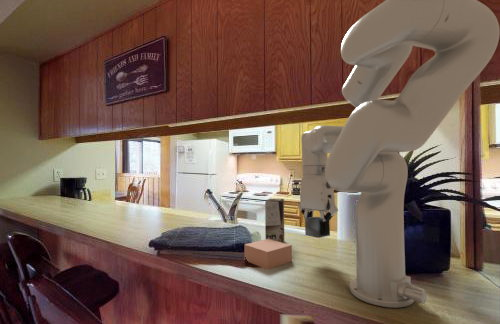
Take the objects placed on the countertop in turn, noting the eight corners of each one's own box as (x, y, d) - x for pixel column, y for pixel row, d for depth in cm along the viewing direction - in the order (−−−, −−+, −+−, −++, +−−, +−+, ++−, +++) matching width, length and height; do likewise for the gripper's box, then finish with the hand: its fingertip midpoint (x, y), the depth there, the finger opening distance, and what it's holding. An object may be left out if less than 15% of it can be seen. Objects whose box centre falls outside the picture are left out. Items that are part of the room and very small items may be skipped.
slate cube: (330, 235, 78) (329, 218, 79) (318, 237, 76) (317, 220, 76) (317, 232, 83) (316, 216, 83) (305, 235, 80) (304, 218, 80)
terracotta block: (291, 262, 79) (291, 245, 79) (267, 270, 73) (267, 251, 73) (268, 254, 87) (268, 238, 87) (244, 261, 80) (244, 244, 81)
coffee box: (283, 246, 94) (282, 201, 95) (265, 246, 95) (264, 200, 96) (284, 240, 103) (284, 198, 104) (268, 239, 104) (267, 198, 105)
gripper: (347, 171, 75) (350, 236, 74) (304, 173, 90) (305, 227, 88) (329, 171, 71) (332, 240, 70) (287, 173, 85) (288, 230, 84)
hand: (317, 232), depth 79 cm, fingers closed on slate cube, 5 cm apart
